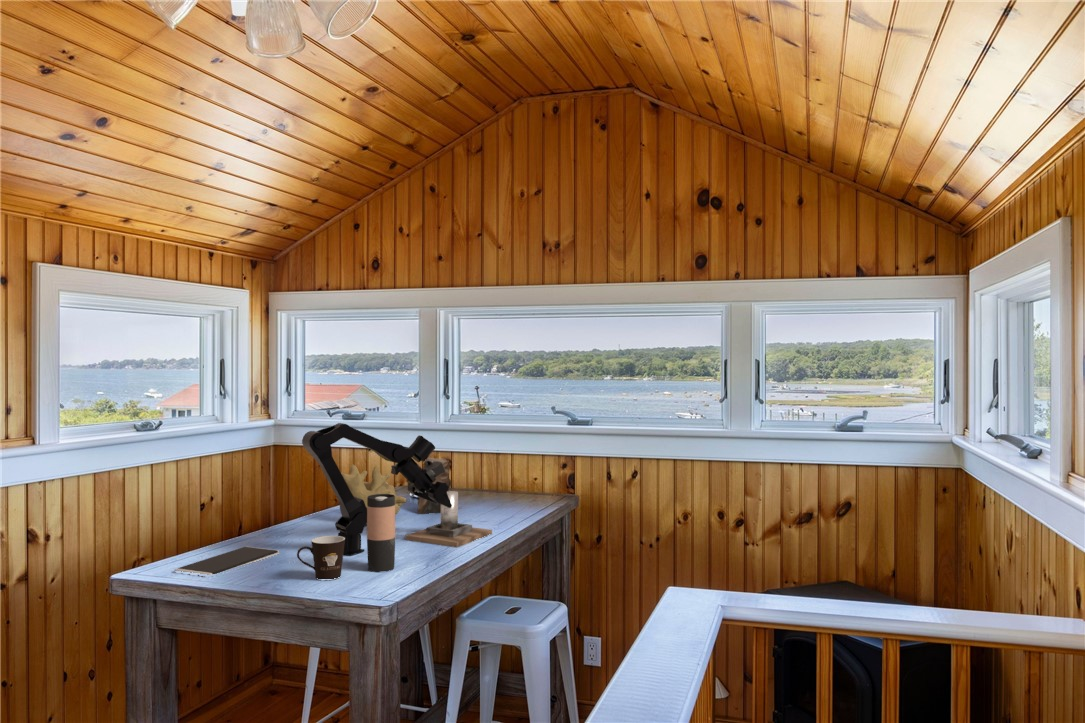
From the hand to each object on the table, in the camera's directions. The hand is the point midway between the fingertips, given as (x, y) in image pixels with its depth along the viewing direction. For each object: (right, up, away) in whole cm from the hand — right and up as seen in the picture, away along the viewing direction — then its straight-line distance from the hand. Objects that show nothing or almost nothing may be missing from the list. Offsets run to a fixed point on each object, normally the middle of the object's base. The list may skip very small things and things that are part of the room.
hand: (444, 504), depth 248 cm
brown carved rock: (-11, -11, +44) cm, 46 cm away
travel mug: (-13, -11, -36) cm, 40 cm away
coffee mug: (-26, -11, -45) cm, 53 cm away
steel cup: (+1, -9, +1) cm, 10 cm away
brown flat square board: (+2, -11, +1) cm, 11 cm away
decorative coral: (-29, -11, +28) cm, 42 cm away
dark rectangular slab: (-57, -12, -31) cm, 66 cm away
